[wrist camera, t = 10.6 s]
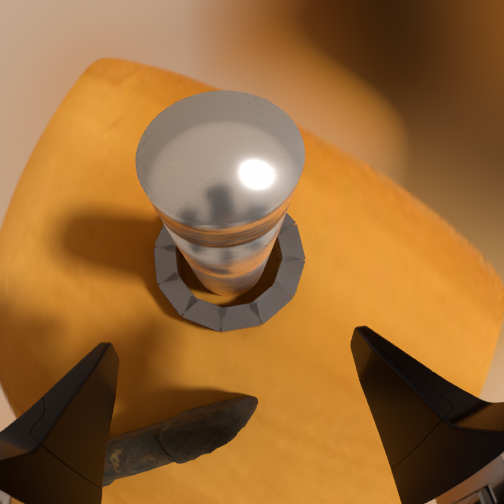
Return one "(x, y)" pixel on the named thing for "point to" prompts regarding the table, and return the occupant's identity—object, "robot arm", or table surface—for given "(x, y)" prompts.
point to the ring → (241, 314)
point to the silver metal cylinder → (222, 182)
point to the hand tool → (177, 438)
